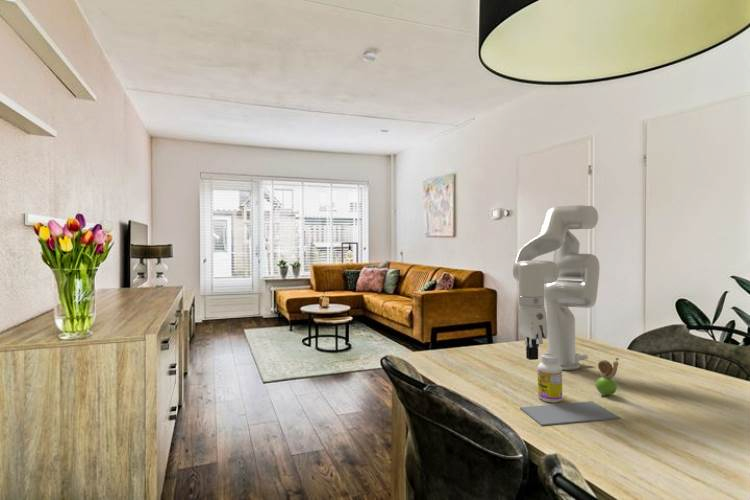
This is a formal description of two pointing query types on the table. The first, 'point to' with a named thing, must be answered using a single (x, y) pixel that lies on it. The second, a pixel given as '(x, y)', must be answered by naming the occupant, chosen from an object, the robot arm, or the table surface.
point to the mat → (568, 413)
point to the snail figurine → (607, 377)
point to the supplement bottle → (549, 379)
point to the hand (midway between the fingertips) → (532, 358)
